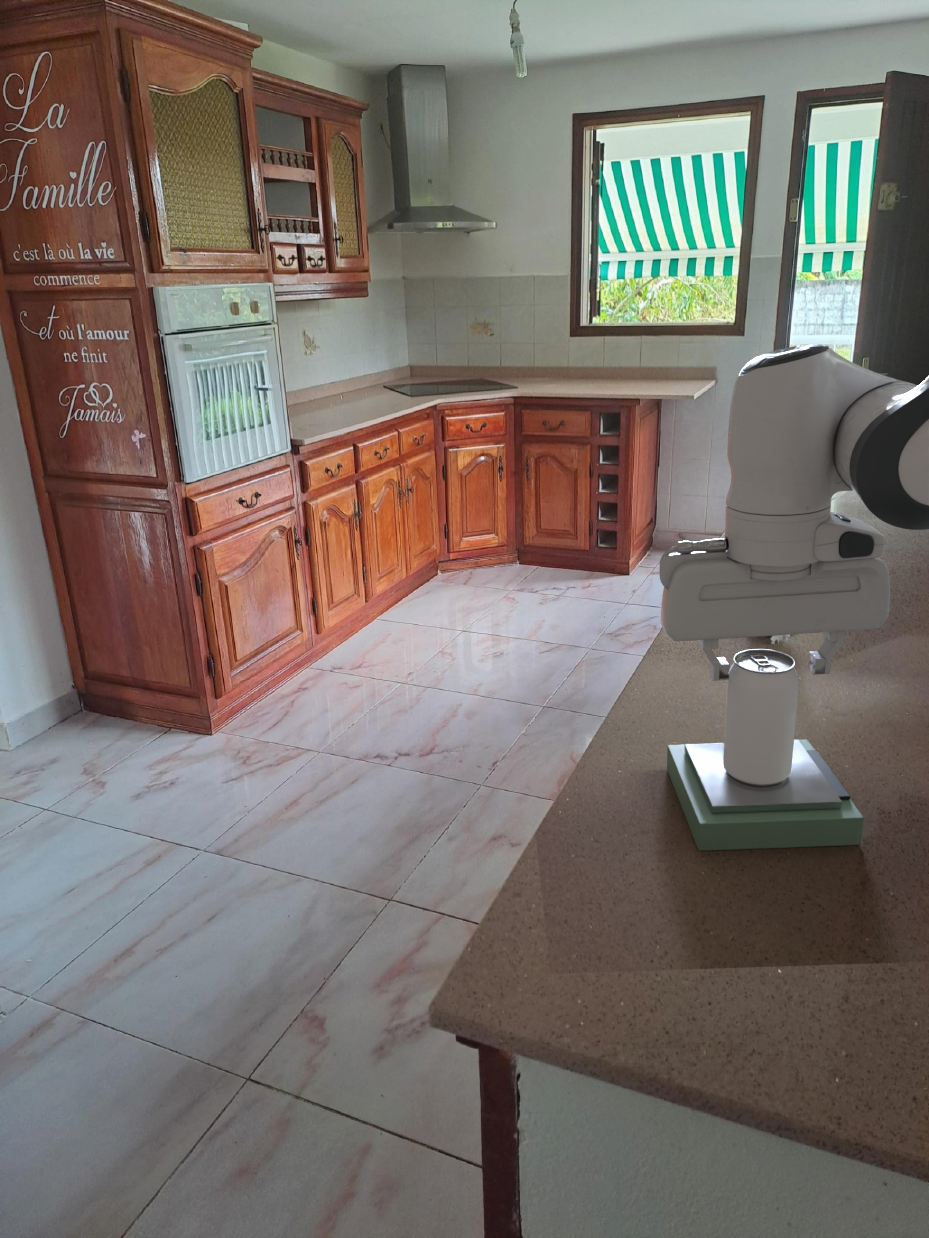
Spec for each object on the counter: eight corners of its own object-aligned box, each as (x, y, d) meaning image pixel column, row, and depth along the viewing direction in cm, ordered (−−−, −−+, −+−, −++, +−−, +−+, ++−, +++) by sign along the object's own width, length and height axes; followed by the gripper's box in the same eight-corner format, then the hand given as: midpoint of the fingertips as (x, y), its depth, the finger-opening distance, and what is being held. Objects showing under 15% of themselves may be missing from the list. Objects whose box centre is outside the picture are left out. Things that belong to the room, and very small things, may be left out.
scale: (805, 763, 96) (807, 735, 95) (860, 845, 82) (864, 813, 81) (666, 769, 96) (667, 741, 95) (698, 851, 82) (699, 820, 81)
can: (734, 789, 85) (741, 676, 80) (714, 756, 91) (719, 649, 86) (801, 785, 85) (811, 672, 80) (776, 752, 91) (785, 645, 87)
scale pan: (797, 745, 93) (798, 739, 93) (841, 808, 82) (842, 801, 82) (684, 750, 94) (684, 744, 93) (712, 813, 83) (712, 806, 82)
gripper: (666, 552, 77) (665, 696, 81) (905, 536, 76) (890, 682, 81) (653, 533, 82) (653, 668, 87) (874, 518, 82) (862, 655, 86)
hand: (768, 675), depth 84 cm, fingers open, 8 cm apart
